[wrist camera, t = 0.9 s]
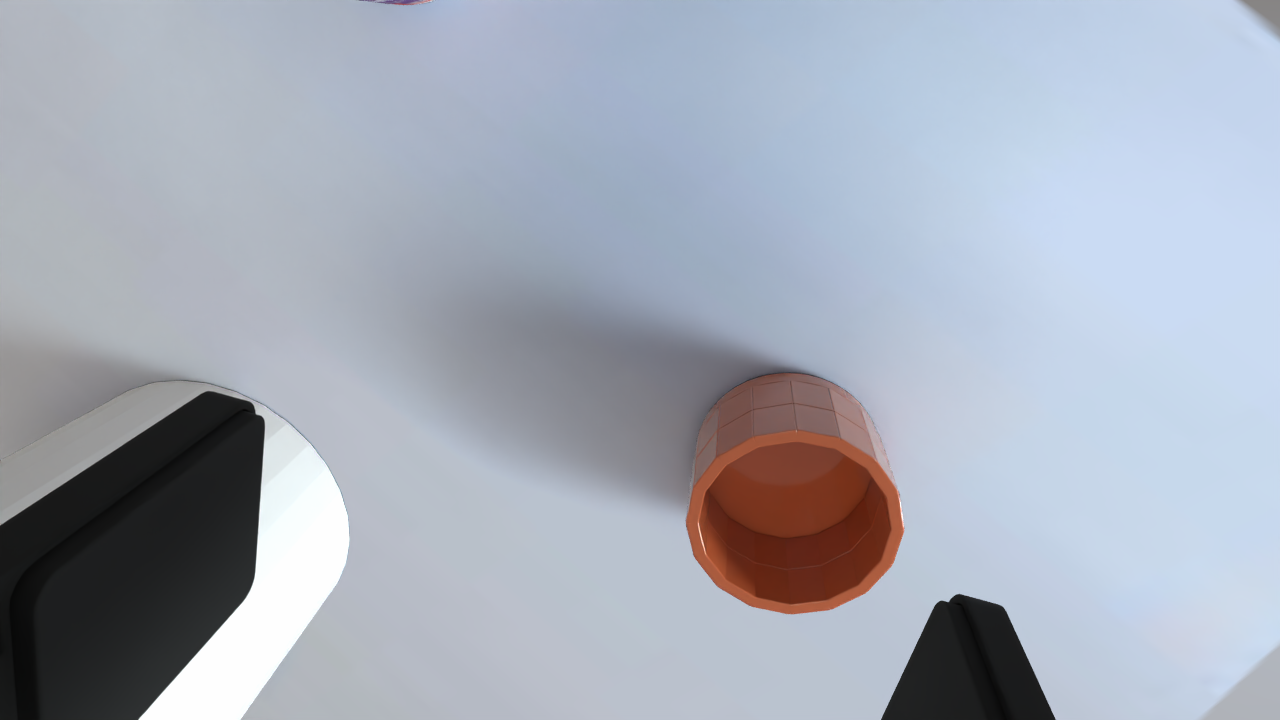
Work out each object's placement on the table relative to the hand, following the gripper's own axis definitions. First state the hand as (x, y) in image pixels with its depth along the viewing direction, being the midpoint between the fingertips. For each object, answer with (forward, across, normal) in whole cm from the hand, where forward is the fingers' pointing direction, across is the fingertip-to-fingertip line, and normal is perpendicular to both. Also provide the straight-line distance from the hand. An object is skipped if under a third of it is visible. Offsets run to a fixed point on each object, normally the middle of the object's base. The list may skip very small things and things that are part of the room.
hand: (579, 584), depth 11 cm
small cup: (+17, -6, +6) cm, 19 cm away
